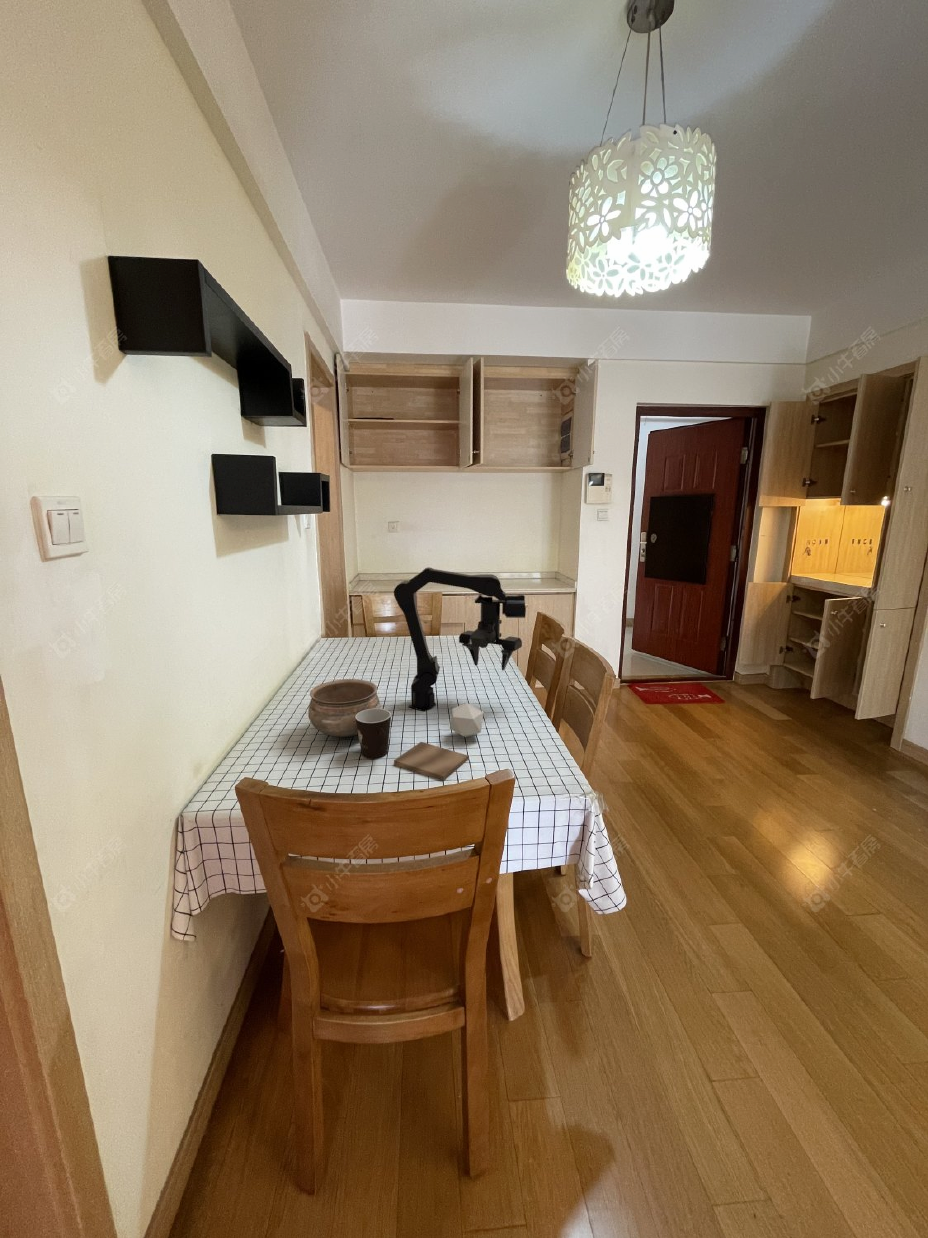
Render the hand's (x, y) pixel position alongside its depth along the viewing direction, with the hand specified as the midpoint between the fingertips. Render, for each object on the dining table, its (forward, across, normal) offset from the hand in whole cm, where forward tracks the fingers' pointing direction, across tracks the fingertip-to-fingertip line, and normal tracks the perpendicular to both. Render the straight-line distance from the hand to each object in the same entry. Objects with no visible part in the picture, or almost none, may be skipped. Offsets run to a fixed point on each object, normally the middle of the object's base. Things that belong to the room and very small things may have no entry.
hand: (489, 667), depth 147 cm
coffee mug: (+13, -10, -42) cm, 45 cm away
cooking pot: (+13, -25, -36) cm, 46 cm away
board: (+12, +4, -38) cm, 40 cm away
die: (+13, +5, -22) cm, 26 cm away
